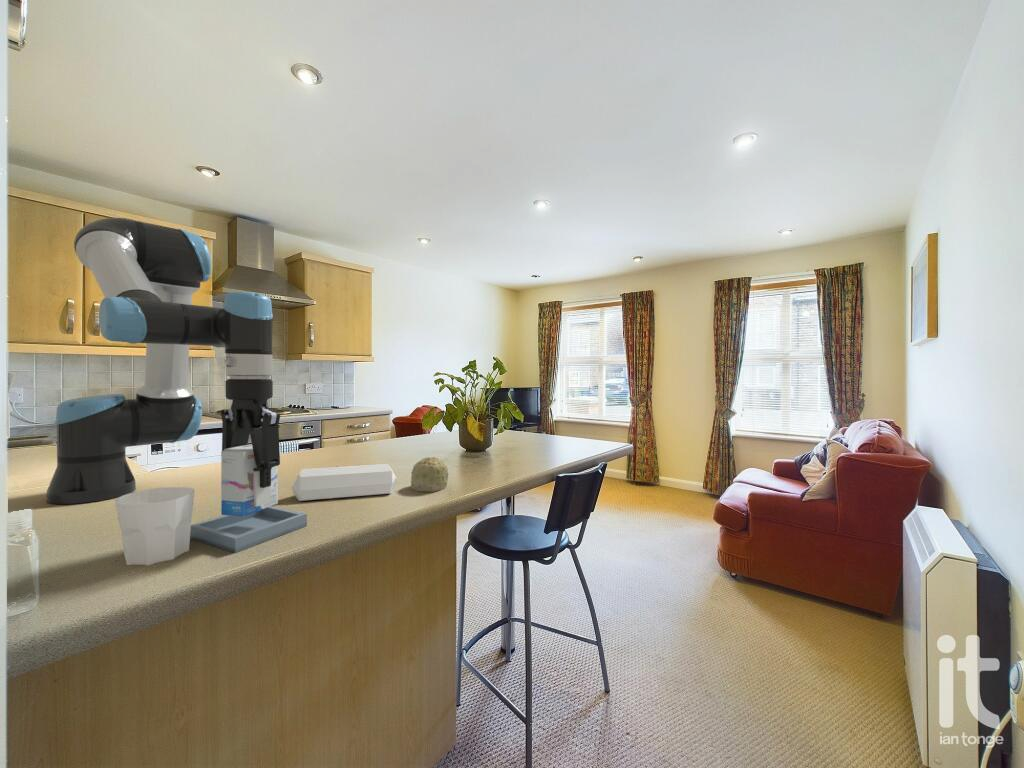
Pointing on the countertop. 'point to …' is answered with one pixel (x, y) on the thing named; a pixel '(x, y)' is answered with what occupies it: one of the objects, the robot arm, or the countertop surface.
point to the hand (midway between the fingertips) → (250, 501)
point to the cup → (155, 524)
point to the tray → (247, 528)
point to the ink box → (242, 482)
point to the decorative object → (429, 475)
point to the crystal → (344, 482)
